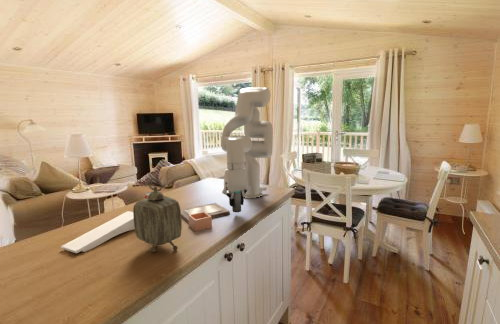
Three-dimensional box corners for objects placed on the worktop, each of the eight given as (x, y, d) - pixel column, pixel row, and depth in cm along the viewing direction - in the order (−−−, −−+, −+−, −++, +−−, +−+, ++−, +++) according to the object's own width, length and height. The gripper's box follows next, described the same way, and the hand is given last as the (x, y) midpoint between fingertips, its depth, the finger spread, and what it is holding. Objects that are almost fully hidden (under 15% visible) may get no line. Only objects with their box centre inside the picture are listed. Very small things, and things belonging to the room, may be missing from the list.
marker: (238, 208, 128) (237, 188, 126) (242, 211, 125) (242, 190, 123) (230, 210, 126) (230, 189, 124) (235, 213, 123) (234, 191, 121)
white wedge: (80, 270, 93) (144, 229, 117) (79, 253, 90) (144, 215, 114) (61, 257, 96) (127, 220, 120) (59, 241, 94) (127, 206, 118)
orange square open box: (204, 221, 119) (204, 211, 119) (211, 227, 113) (211, 216, 113) (188, 225, 116) (188, 215, 115) (195, 231, 110) (194, 220, 109)
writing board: (215, 205, 141) (215, 202, 140) (229, 214, 128) (229, 210, 128) (177, 213, 130) (177, 209, 130) (188, 223, 117) (188, 219, 117)
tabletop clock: (183, 249, 94) (179, 178, 90) (161, 261, 87) (156, 184, 83) (156, 239, 102) (151, 173, 98) (134, 249, 95) (128, 178, 91)
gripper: (247, 162, 129) (247, 199, 132) (214, 166, 120) (216, 206, 124) (256, 164, 123) (256, 203, 126) (222, 170, 114) (224, 211, 117)
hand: (236, 204), depth 125 cm, fingers closed on marker, 4 cm apart
